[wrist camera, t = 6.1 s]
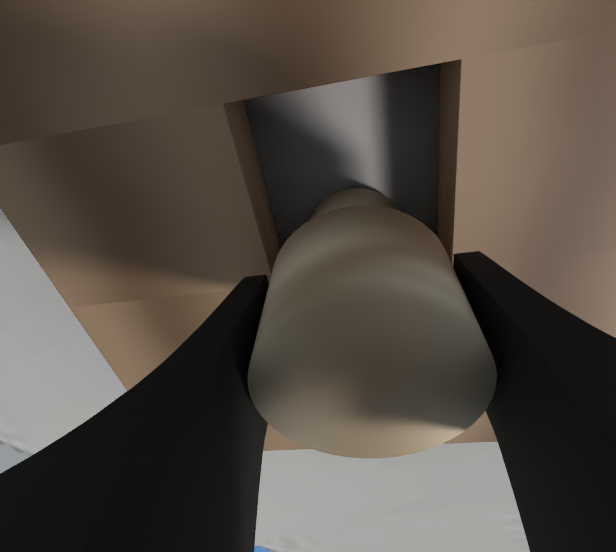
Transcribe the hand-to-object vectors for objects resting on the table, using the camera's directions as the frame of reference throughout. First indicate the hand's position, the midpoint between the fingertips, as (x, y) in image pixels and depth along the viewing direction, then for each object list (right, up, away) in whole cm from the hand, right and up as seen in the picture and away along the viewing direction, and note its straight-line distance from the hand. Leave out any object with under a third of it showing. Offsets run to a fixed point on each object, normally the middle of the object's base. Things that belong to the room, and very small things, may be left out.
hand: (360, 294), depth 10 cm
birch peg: (0, +2, +3) cm, 3 cm away
